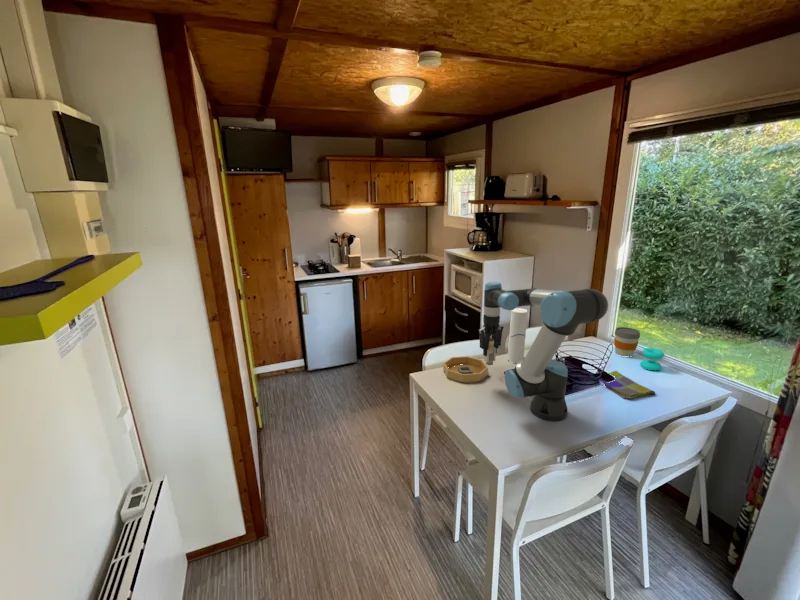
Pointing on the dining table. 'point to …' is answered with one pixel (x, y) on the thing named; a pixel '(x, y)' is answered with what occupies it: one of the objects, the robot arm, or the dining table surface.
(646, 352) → the donuts
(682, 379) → the dining table surface
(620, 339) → the reusable coffee cup
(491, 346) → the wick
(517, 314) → the container
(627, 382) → the dish towel
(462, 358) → the octagonal shallow tray
